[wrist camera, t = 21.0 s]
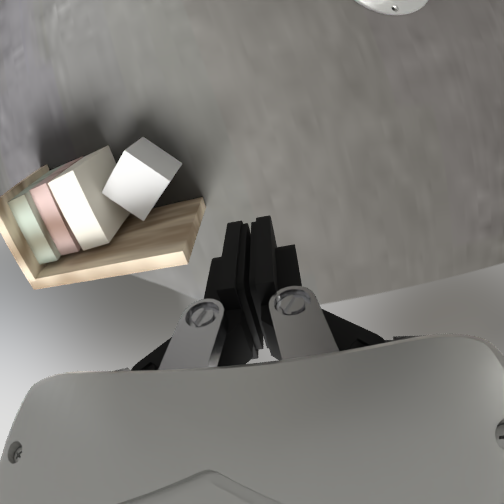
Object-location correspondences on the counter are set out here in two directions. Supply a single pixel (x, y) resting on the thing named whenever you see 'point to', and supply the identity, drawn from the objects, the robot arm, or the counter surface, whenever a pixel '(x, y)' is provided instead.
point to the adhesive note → (141, 177)
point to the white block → (89, 199)
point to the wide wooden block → (98, 258)
